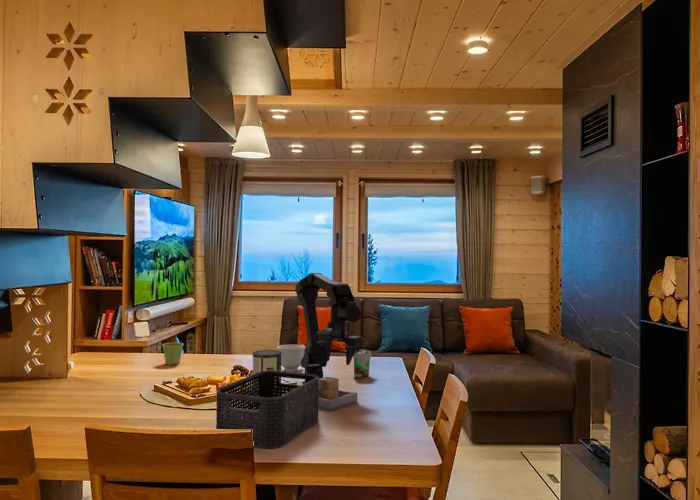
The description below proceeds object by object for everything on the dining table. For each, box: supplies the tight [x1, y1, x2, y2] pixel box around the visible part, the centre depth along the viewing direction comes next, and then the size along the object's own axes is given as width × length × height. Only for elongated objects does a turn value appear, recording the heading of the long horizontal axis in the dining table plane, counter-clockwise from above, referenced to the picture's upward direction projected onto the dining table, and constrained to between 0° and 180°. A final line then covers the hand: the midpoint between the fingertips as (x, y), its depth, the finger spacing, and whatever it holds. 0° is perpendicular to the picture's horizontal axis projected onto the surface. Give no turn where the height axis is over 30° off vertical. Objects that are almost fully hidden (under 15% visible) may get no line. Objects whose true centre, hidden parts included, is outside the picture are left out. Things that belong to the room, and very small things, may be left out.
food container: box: [353, 348, 373, 380], centre depth 225 cm, size 12×6×10 cm, turn 168°
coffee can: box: [252, 349, 282, 394], centre depth 197 cm, size 10×10×14 cm
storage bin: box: [215, 370, 319, 450], centre depth 154 cm, size 29×19×13 cm
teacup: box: [276, 343, 306, 373], centre depth 237 cm, size 12×15×10 cm
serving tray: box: [318, 388, 358, 412], centre depth 183 cm, size 14×14×3 cm
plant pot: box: [161, 342, 185, 366], centre depth 247 cm, size 9×9×9 cm
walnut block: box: [318, 376, 340, 400], centre depth 183 cm, size 5×5×7 cm
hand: (337, 363), depth 196 cm, fingers open, 9 cm apart
